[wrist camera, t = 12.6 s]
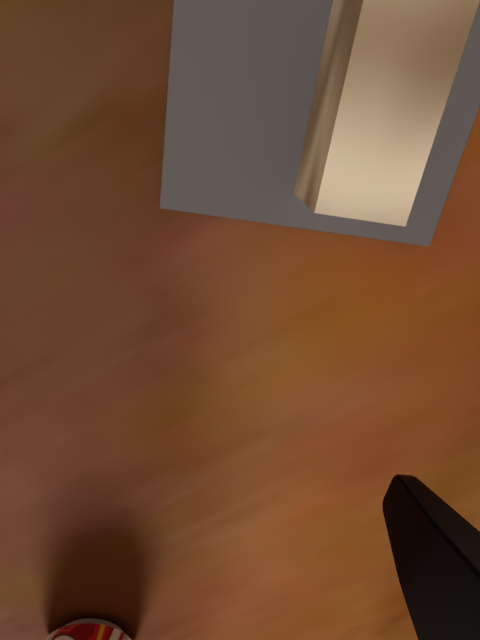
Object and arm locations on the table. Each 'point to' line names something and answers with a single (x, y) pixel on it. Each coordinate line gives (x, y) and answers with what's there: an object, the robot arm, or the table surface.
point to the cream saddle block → (379, 104)
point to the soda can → (88, 631)
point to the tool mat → (278, 117)
